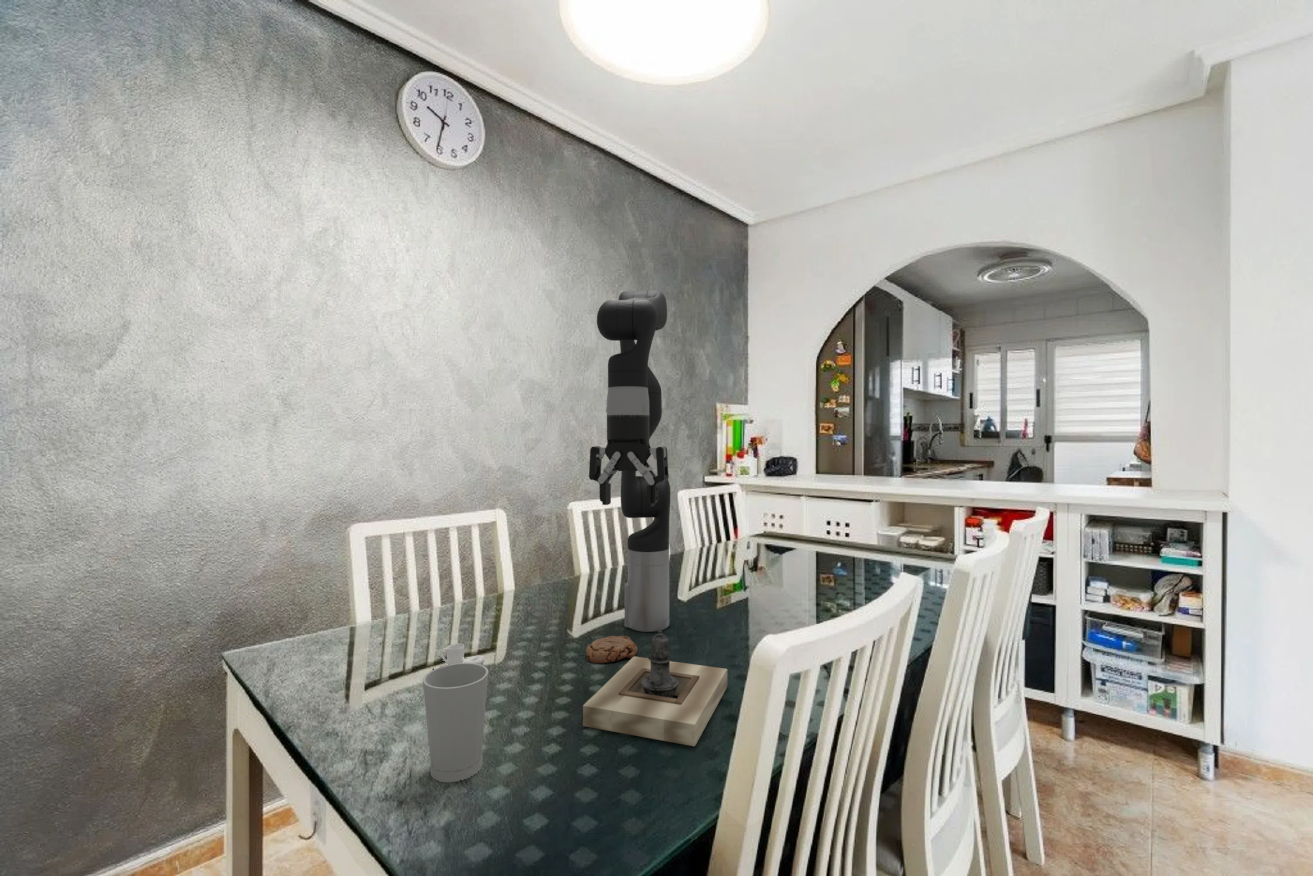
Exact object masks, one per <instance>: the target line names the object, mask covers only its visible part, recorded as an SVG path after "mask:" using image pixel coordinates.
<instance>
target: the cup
mask: <svg viewBox="0 0 1313 876" xmlns="http://www.w3.org/2000/svg"><path fill="white" fill-rule="evenodd" d="M488 680H489V670H488V668H487V667H486V666H485V665H483V664H482V665H480V664H475V663H464V662H463V663H457V664H450V665H448V664H446V665H442V666H441V667H439V668H436V669H434V670H433V669H432V670H430V671H428V672H427V673H426V674H425V675H424V676H423V678H422V686H423V694H424V695H423V696H424V705H425V716H426V727H427V730H426V731H427V739H428V749H429V762H430V776H431V777H433V778H434V780H435V779H436V780H435V781H437V780H439V781H438V782H440V783H456V782H457V783H458V782H461V781H460V780H462V781H464V779H465V780H467V779H469V778H472V777H473V776H475V775H476V774H477V773H479V772H478V771H480V770H481V769H482V767H483V748H484V747H483V744H484V733H485V732H484V731H485V720H486V719H485V716H486V715H485V714H486V703H487V692H488ZM474 774H475V775H474ZM471 776H472V777H471ZM433 778H432V779H433Z"/></svg>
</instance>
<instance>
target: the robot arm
mask: <svg viewBox="0 0 1313 876" xmlns="http://www.w3.org/2000/svg"><path fill="white" fill-rule="evenodd" d="M667 319H668V304H667V299H666V296H665V294H664V293H663V292H662V291H660V290H658V289H641V290H639V289H638V290H626V291H622V292H620V294H619V295H618V299H616V300H615V299H611V300H606V301H604V302H603V303H602V304H601V305H600V307H599V308H598V311H597V315H596V325H597V329H598V331H599V333H600V335H601V336H602V337H604V339H606V340H608V341H611V342H612V341H614V342H615V341H617V342H618V341H619V347H620V349H619V350H620V352H619V353H616V354H613V355H610V357H609V359H608V360H607V361H608V362H607V395H606V407H605V408H606V409H605V412H606V440H607V441H606V442H607V444H606V446H605V447H602V446H600V445H599V446H598V445H597V446H596V445H595V446H594V445H593V446H591V447H590V449H589V469H588V478H589V480H591V481H595V482H597V483H598V484H599V486H598V487H599V501H600V502H601V503H602V504H601V505H603V506H608V505H609V506H610V505H611V504H612V501H611V500H612V499H611V498H612V493H611V492H612V488H611V487H612V483H610V481H611V479H612V478H613V476H614V475H615V474H616V473H617V472H621V474H620V475H621V478H620V479H621V480H620V506H621V508H620V509H621V512H622V514H623V516H624V517H625V518H626V519H627V518H628V519H638V518H639V519H640V518H643V519H644V518H645V519H648V518H649V519H650V518H652V519H653V520H652V522H651V523H650V524H648V526H646V527H644V528H643V529H641V530H638V531H635V532H633V533H631V534H629V536H628V538H627V581H626V582H625V583H624V585H623V588H624V598H623V599H624V601H623V602H624V603H623V605H624V628H629V629H631V630H634V631H636V632H637V631H638V632H649V633H650V632H651V633H652V632H658V631H659V629H661V631H664V630H665V629H667V628H668V627H670V514H671V512H670V511H671V495H672V494H671V485H670V482H669V478H670V477H669V475H670V474H669V463H668V462H669V460H668V459H669V458H668V448H667V447H666V446H658V447H651V445H650V444H651V443H650V439H651V438H652V436H653V434H654V433H655V431H656V430H657V427H658V426H659V424H660V422H661V420H662V415H663V407H662V406H663V405H662V404H663V403H662V400H663V399H662V387H661V384H660V383H659V380H658V378H657V377H656V375H655V374H654V372H653V371H652V370H651V368H650V367H649V359H650V358H649V357H650V353H651V352H650V351H651V347H652V344H653V340H654V337H655V334H656V331H660V330H662V329H663V328H665V326H666V323H667ZM635 341H636V342H635ZM651 455H652V457H653V459H654V460H656V471H657V473H655V471H654V470H653V469H654V468H653V467H652V466H651V464H650V462H649V461H648V459H650V457H651ZM605 456H606V457H607V459H608V460H609V461H608V462H607V464H606V466H605V467H604V468H603V470H602V460H603V459H604V457H605ZM637 472H639V475H637ZM656 474H657V475H656Z"/></svg>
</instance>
